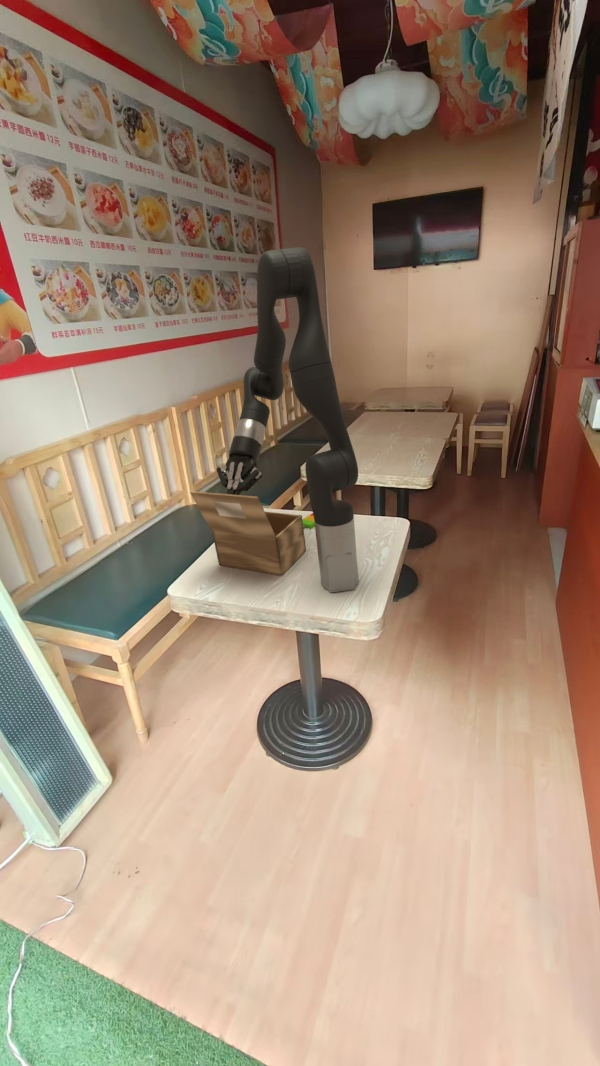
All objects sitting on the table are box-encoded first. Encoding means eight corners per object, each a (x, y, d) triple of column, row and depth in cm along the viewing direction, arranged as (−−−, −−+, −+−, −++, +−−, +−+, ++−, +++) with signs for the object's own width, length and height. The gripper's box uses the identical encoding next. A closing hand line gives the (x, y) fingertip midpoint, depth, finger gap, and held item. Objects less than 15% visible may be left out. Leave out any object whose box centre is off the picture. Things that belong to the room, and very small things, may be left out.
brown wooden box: (246, 543, 154) (240, 509, 149) (306, 551, 145) (301, 515, 140) (219, 565, 143) (211, 529, 138) (282, 575, 134) (276, 537, 129)
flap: (190, 491, 128) (189, 492, 128) (258, 496, 119) (257, 498, 119) (212, 529, 138) (211, 531, 137) (275, 537, 129) (274, 538, 129)
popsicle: (329, 519, 163) (329, 513, 163) (298, 538, 154) (297, 532, 153) (316, 516, 167) (315, 510, 166) (285, 534, 157) (284, 528, 156)
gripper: (218, 433, 130) (199, 497, 127) (263, 434, 124) (244, 502, 121) (233, 447, 137) (216, 508, 133) (277, 448, 131) (260, 512, 127)
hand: (230, 505), depth 127 cm, fingers closed
